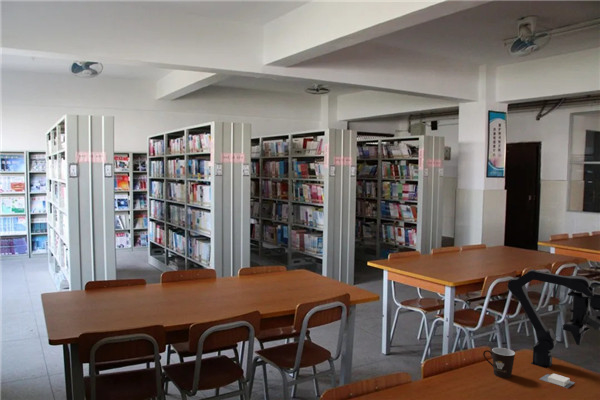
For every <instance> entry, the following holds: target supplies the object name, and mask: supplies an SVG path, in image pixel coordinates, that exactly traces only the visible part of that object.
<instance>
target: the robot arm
mask: <svg viewBox="0 0 600 400" xmlns="http://www.w3.org/2000/svg"><path fill="white" fill-rule="evenodd" d="M534 280H535V281H538V282H544V283H548V284H553V285H557V286H558V285H559V286H562V287H566V288H568V290H570V291H569V292H567V296H569V297H572V304H571V305H572V306H571V307H572V308H570V313H571V318H570V319H569V321H568V322H566V323H564V324H563V325H562V330H563V331H566V332H570V333H571V336H572V338H573V340H574V342H575V344H576V345H577V346H580V345H581V344H582V341H583V338H584V335H585V333H586V332H588V331H589V330H590V329H591V328H593V329H594V330H596V331H600V314H599V315H598V316H596V315H592V312H591V310H590V309H589V306H590V307H591V309H592V310H594V311H600V293H597V292H595V290H594V289H593V287H592V286H591V282H590V280H589V279H588V278H587V277H586V276H583V275H581V276H580V275H560V274H558V273H557V274H556V273H550V272H545V271H542V270H541V271H540V270H536V269H534V268H533V269H530V270H529V271H527V272H526V273H525V274H523V275H521V276H519V277H513V278H512V279H511V280H509V281H508V283H507V289H508V290H509V292H510V293H511V294H512V295H513V296H514V297H515V298H516V299H517V300H518V301H519V304H520V305H521V307H522V309H523V311H524V312H525V314H526V316H527V318H528V320H529V321H530V322H529V323H531V325H532V327H533V328H534V330H535V335H536V339H537V341H536V343H535V344H534V345H533V347H532V348H533V350H532V351H533V352H532V362H531V363H530V364H531V365H534V366H538V367H540V368H544V369H548V368H549V367H551V366H553V356H552V352H551V351H552V350H553V349H554V348H555V346H556V345H557V338H558V337H557V335H555V333H554V330H553V328H548V327H547V326H546V325H545V324H544V322H543V320H542V318H541V317H540V314H539V313H538V311H537V309H536V307H535V306H534V304H533V302H532V301H531V300H532V299H531V298H530V297H529V293H528V289H527V287H526V285H527V284H528V283H530V282H531V281H534ZM589 303H590V304H589ZM587 325H588V326H589V327H591V328H589V327H587Z"/></svg>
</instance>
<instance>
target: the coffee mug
mask: <svg viewBox="0 0 600 400" xmlns="http://www.w3.org/2000/svg"><path fill="white" fill-rule="evenodd" d="M486 353H489V354H490V355H491V357H492V362H491V361H490V360H489V359H488V358H487V356H486V355H485V354H486ZM482 355H483V358H484V360H485V361H486V362H488V363H489V364H490V365H491V366H492V368H493V375H494V376H496V377H498V378H501V379H510V378H511V377H512V373H513V369H514V368H513V367H514V360H515V358H516V357H515V356H516V352H515V351H514V350H512V349H509V348H505V347H493V348H492V349H491V350H489V349H488V350H487V349H486V350H484V351H483V353H482Z"/></svg>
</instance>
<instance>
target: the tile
mask: <svg viewBox="0 0 600 400" xmlns="http://www.w3.org/2000/svg"><path fill="white" fill-rule="evenodd" d="M549 375H550V376H549V377H548V382H547V383H549V382H551V383H550V384H552V383H554V384H553V385H555V384H557V385H556V386H559V385H560V386H559V387H562V386H563V387H562V388H565V387H564V386H566V385H567V384H569V382H570V381H571V380H570V377H566V376H563V375H560V374H557V373H552V374H549Z"/></svg>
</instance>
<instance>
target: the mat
mask: <svg viewBox="0 0 600 400" xmlns="http://www.w3.org/2000/svg"><path fill="white" fill-rule="evenodd" d="M550 375H551V374H549V373H546V374H545V375H543V376H541V377H540V378H539V380H541V381H544V382H546V383H550V384H553V385H556V386H559V387H562V388H564V389H565V388H566V389H569V388H570V387H571V386H573V385H574V384H575V383H576V382H575V381H572V380H570V382H569V384H567V385H566V386H564V387H563V386H560V385H557V384H554V383H551V382H548V377H549V376H550Z"/></svg>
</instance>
